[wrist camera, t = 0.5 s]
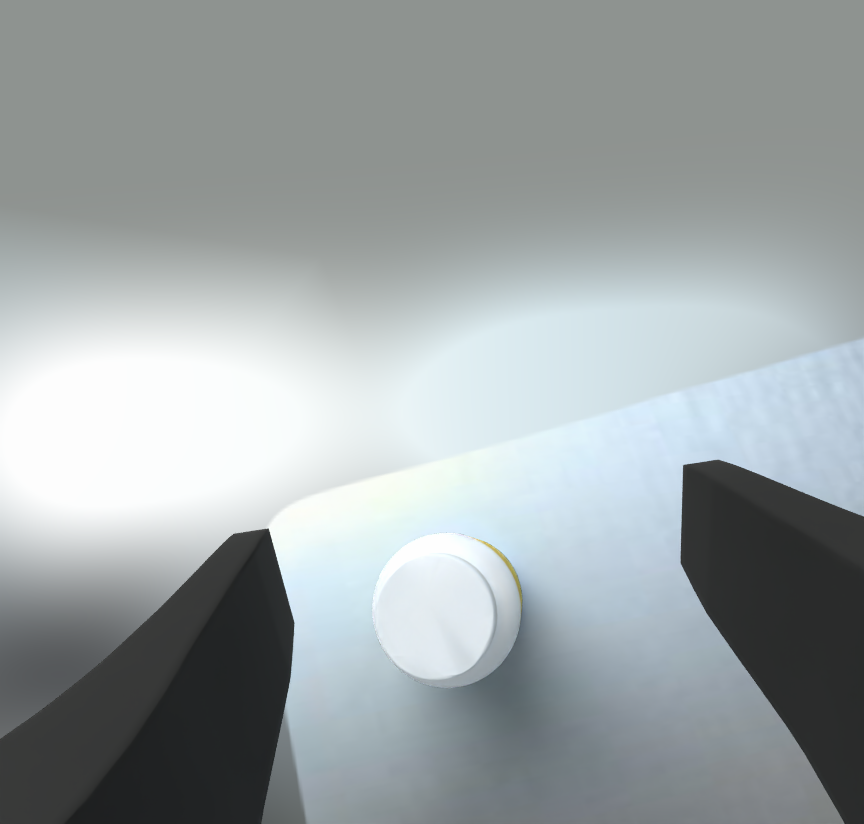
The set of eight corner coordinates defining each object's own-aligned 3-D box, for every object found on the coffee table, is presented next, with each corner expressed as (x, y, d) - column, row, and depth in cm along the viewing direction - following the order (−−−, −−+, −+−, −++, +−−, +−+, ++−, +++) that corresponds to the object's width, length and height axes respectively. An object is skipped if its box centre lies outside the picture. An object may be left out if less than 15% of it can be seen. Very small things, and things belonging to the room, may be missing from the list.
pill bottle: (508, 527, 36) (501, 513, 25) (533, 647, 34) (538, 690, 23) (396, 549, 37) (339, 546, 25) (416, 668, 35) (365, 720, 24)
